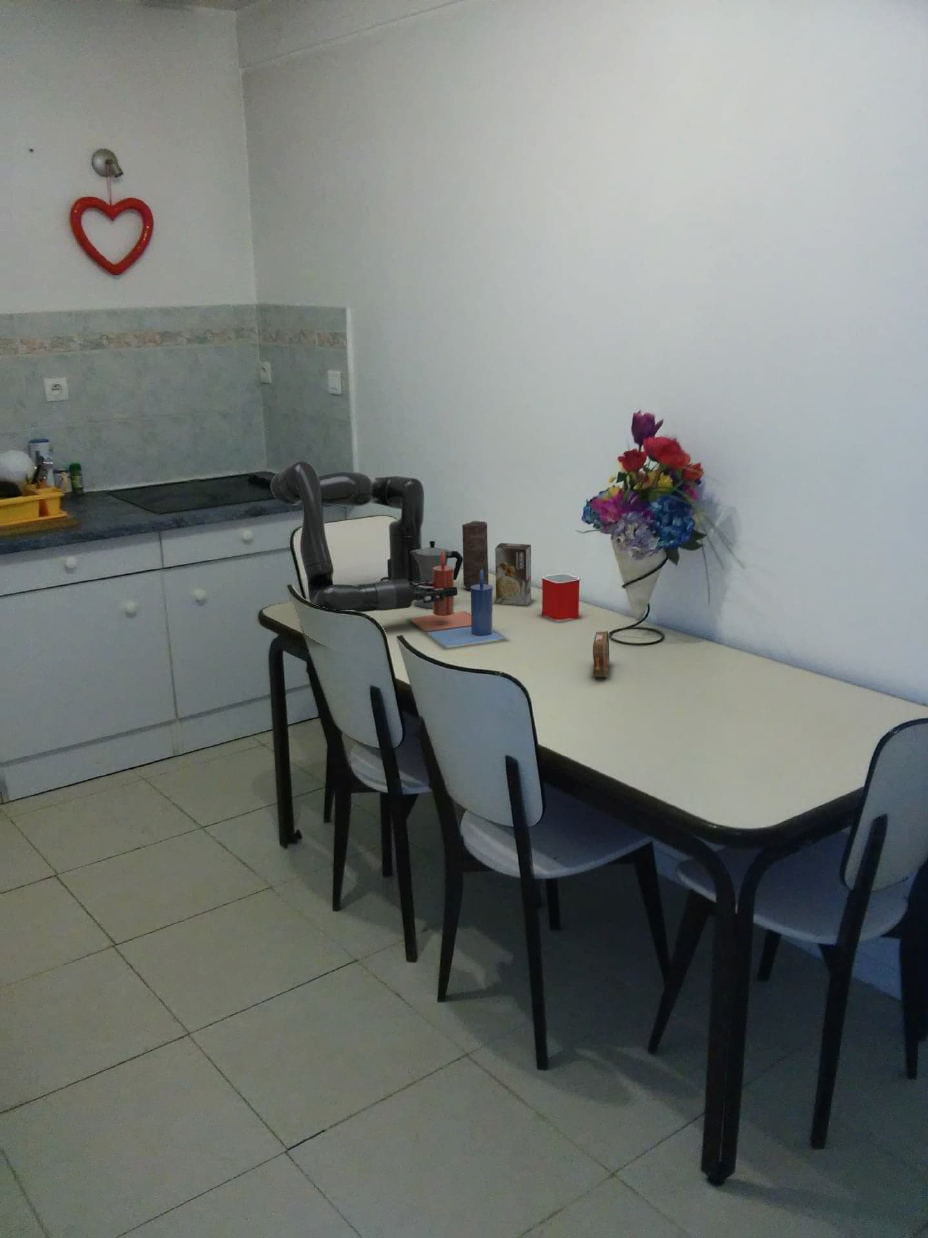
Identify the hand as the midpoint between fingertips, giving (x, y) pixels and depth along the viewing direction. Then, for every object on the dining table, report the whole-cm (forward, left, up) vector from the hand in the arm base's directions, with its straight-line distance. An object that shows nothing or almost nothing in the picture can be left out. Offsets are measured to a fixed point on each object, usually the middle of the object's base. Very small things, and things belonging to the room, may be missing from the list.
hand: (452, 588), depth 276 cm
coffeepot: (-11, +15, -10) cm, 21 cm away
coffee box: (+8, +25, -10) cm, 28 cm away
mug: (+23, +17, -10) cm, 30 cm away
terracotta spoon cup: (-2, -2, -6) cm, 7 cm away
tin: (+46, -22, -10) cm, 52 cm away
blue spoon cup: (+11, -6, -9) cm, 15 cm away
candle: (-7, +34, -10) cm, 36 cm away
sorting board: (+3, -5, -10) cm, 11 cm away
